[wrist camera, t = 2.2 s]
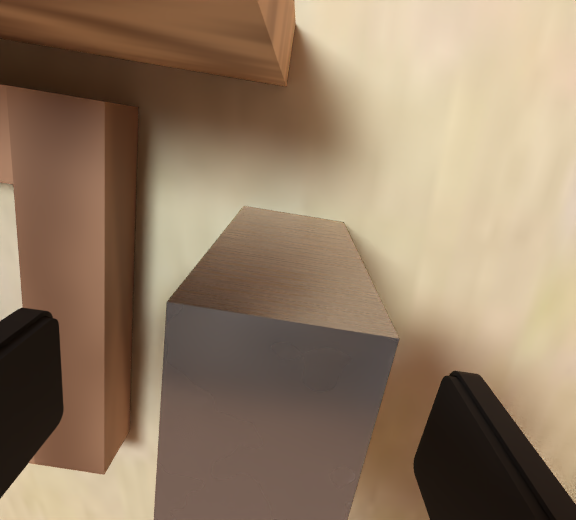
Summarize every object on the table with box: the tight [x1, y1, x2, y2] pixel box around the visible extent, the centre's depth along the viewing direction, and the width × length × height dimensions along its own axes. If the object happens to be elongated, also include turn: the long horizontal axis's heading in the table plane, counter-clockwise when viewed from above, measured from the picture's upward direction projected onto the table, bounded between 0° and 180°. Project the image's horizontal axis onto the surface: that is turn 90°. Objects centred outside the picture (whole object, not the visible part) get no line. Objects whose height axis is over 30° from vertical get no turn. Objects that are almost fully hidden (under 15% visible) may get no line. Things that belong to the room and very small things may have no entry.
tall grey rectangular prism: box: [154, 206, 399, 520], centre depth 12 cm, size 4×7×9 cm, turn 171°
